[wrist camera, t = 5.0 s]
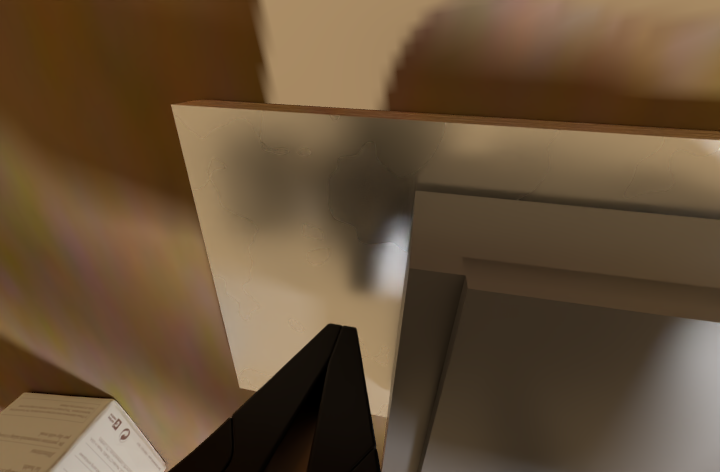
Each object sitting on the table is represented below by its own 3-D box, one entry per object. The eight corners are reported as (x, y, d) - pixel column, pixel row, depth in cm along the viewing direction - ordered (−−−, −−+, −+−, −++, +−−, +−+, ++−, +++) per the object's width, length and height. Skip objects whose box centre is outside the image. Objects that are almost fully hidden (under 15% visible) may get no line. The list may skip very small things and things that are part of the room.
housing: (629, 447, 10) (714, 609, 7) (389, 400, 11) (375, 524, 8) (811, 228, 6) (1170, 384, 3) (415, 190, 7) (407, 280, 4)
